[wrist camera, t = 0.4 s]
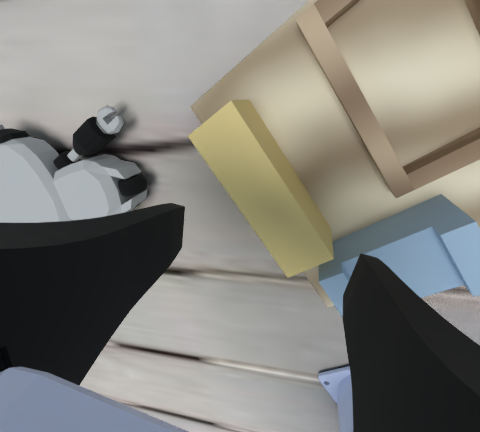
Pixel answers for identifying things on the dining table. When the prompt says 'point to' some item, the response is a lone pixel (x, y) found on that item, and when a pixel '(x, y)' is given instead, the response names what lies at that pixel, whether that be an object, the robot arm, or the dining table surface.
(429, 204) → the blue notched block
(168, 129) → the dining table surface
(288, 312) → the dining table surface
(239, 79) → the jig
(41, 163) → the robot toy
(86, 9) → the dining table surface
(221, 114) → the yellow rectangular block
